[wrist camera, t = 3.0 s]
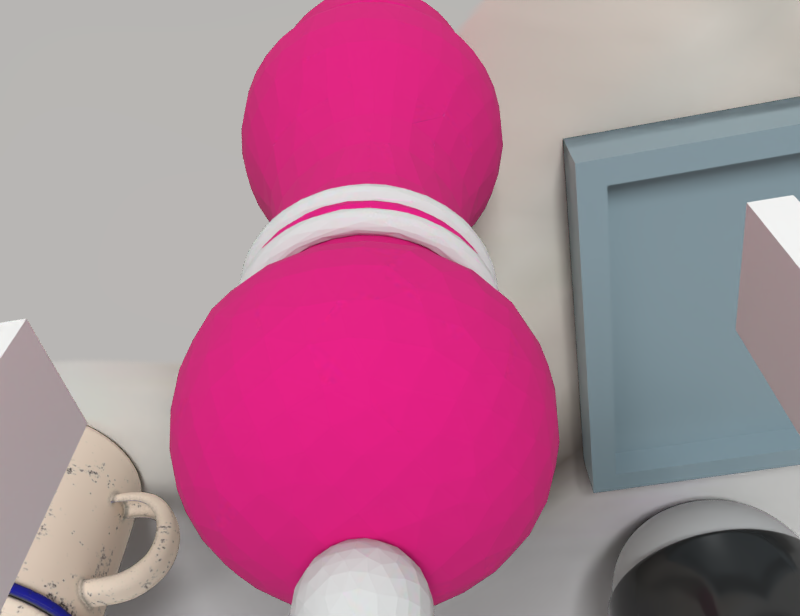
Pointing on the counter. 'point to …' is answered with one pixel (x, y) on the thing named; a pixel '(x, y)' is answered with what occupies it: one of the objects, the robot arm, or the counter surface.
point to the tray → (674, 294)
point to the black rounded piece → (708, 564)
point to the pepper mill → (366, 333)
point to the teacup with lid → (93, 538)
